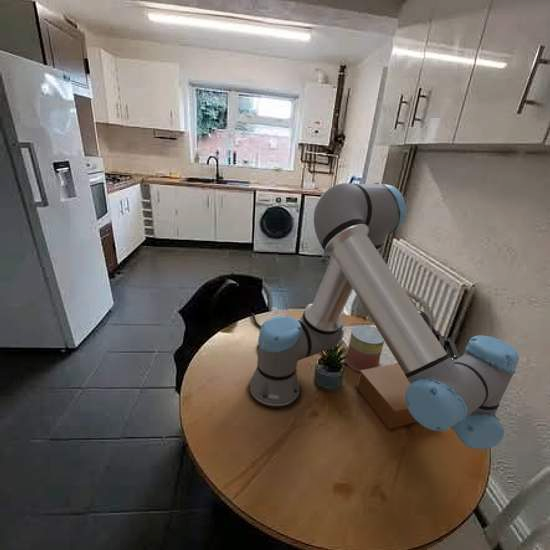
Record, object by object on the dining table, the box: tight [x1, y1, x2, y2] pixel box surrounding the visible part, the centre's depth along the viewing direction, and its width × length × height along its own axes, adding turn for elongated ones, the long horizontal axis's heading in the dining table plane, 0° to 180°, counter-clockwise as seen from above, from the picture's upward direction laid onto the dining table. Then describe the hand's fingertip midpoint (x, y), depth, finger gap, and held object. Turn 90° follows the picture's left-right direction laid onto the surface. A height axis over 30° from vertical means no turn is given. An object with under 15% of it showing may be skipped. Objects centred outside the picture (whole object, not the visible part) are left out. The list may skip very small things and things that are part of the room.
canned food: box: [345, 324, 385, 373], centre depth 109 cm, size 11×11×12 cm
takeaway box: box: [357, 362, 418, 430], centre depth 93 cm, size 17×17×7 cm
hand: (409, 324), depth 89 cm, fingers closed on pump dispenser, 9 cm apart
